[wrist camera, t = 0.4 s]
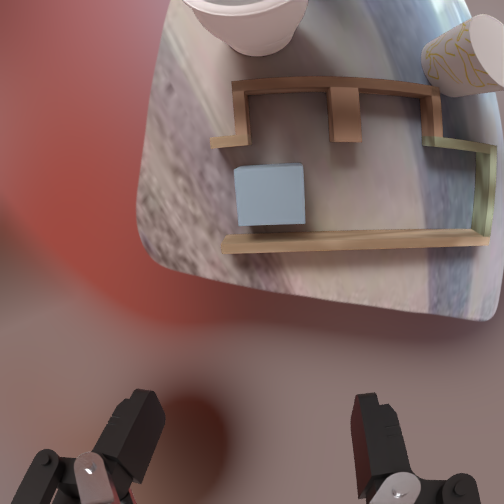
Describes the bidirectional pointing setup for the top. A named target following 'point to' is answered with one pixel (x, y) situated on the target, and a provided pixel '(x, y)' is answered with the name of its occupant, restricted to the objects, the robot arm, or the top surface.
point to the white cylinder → (467, 58)
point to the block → (270, 194)
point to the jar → (250, 22)
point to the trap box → (349, 130)
